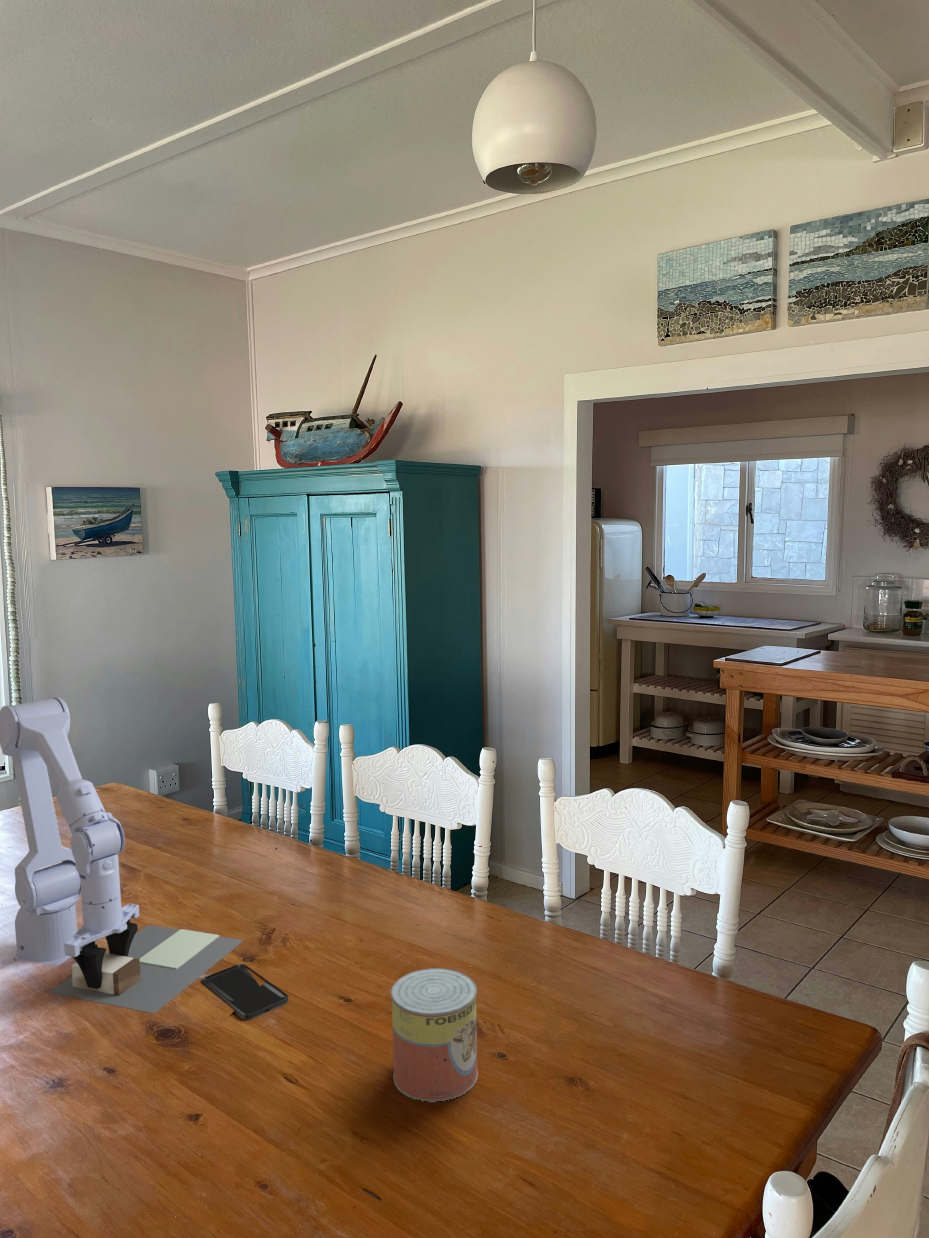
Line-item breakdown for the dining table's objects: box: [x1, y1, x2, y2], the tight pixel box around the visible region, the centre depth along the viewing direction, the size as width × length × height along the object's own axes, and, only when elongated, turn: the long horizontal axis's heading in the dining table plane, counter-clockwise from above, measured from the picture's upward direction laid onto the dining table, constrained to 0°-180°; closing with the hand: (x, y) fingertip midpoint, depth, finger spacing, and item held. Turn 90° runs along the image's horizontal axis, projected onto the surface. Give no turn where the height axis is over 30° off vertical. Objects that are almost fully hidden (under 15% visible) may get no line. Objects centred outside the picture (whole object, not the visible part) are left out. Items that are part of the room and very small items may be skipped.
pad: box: [140, 928, 220, 969], centre depth 153 cm, size 12×8×1 cm, turn 161°
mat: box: [48, 924, 244, 1014], centre depth 147 cm, size 20×24×1 cm
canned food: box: [390, 967, 479, 1103], centre depth 118 cm, size 11×11×12 cm
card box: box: [70, 952, 141, 995], centre depth 142 cm, size 9×5×4 cm, turn 71°
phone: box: [200, 963, 289, 1021], centre depth 139 cm, size 8×1×15 cm
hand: (106, 978), depth 142 cm, fingers closed on card box, 5 cm apart
